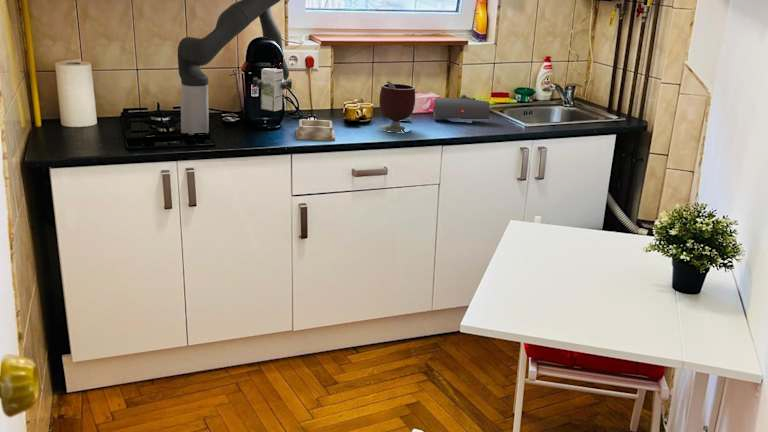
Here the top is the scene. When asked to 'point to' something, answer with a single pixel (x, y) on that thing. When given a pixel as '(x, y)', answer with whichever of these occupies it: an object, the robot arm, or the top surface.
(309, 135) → the beige square tray
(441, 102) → the bluetooth speaker
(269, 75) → the syrup box
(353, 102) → the tin
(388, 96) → the mate gourd
